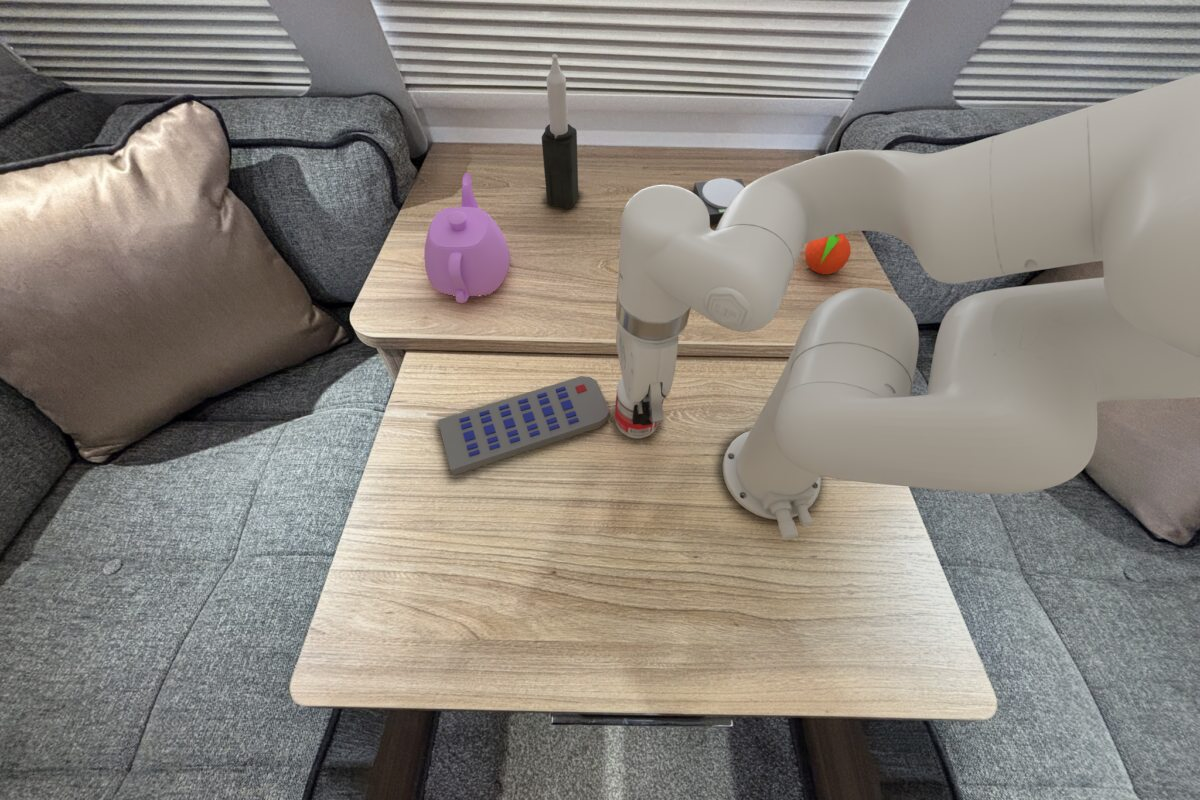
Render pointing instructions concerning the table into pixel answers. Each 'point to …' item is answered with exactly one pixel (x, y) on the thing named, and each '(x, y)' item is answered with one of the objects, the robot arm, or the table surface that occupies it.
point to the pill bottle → (630, 415)
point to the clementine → (828, 254)
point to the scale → (717, 195)
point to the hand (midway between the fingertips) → (639, 397)
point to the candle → (559, 144)
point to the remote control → (522, 423)
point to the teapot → (465, 249)
